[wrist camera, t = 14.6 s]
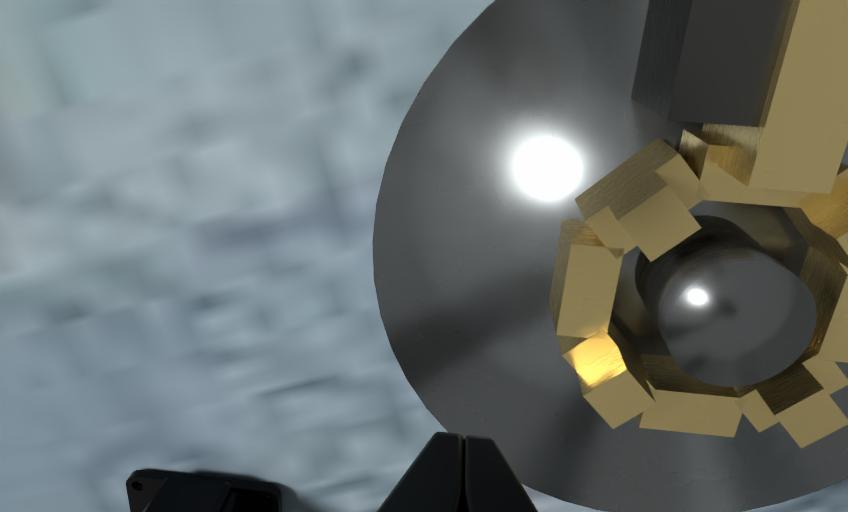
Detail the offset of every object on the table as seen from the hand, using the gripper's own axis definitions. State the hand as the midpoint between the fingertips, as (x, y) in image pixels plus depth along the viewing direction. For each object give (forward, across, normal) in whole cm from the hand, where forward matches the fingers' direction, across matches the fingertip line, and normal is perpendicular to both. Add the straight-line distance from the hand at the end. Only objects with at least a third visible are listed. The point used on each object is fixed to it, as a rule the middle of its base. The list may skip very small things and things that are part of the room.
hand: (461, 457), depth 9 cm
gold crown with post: (+10, -7, -2) cm, 13 cm away
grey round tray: (+12, -7, +1) cm, 14 cm away
